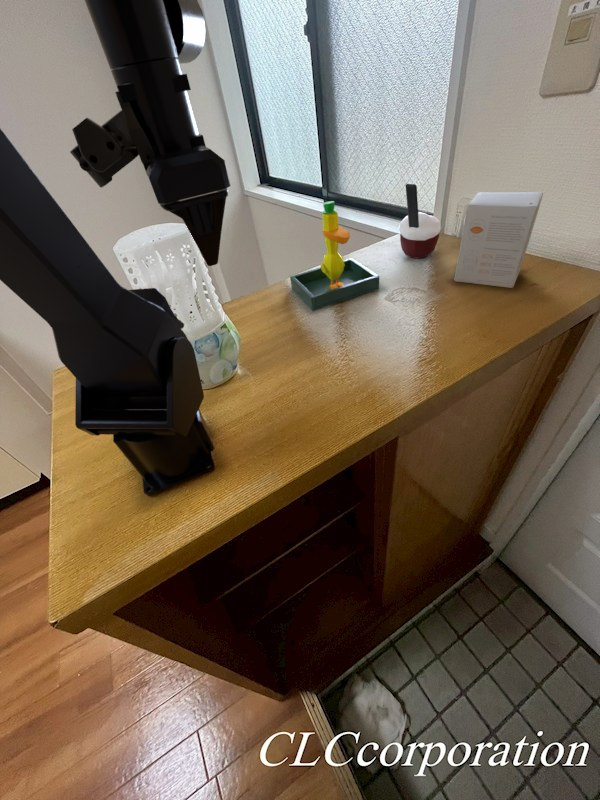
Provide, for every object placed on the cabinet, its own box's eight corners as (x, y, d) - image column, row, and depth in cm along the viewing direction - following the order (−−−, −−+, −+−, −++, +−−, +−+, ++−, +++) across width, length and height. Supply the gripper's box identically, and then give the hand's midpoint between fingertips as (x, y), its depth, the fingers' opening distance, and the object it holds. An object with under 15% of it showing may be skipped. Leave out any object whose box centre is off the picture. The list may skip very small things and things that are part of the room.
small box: (519, 272, 50) (545, 191, 43) (513, 289, 47) (539, 205, 40) (462, 266, 54) (477, 190, 47) (452, 281, 51) (467, 203, 44)
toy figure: (359, 292, 51) (358, 204, 43) (339, 300, 50) (334, 211, 42) (335, 277, 56) (329, 195, 48) (316, 284, 55) (307, 202, 47)
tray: (312, 311, 50) (311, 298, 49) (291, 288, 56) (289, 276, 55) (379, 289, 52) (379, 276, 51) (352, 269, 58) (351, 257, 57)
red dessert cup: (423, 242, 63) (432, 165, 54) (449, 251, 58) (464, 169, 50) (382, 258, 60) (384, 179, 52) (406, 269, 56) (414, 185, 48)
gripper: (58, 85, 34) (132, 246, 45) (21, 75, 21) (138, 306, 32) (169, 66, 36) (214, 224, 47) (199, 46, 23) (252, 272, 34)
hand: (205, 251), depth 40 cm, fingers open, 9 cm apart
